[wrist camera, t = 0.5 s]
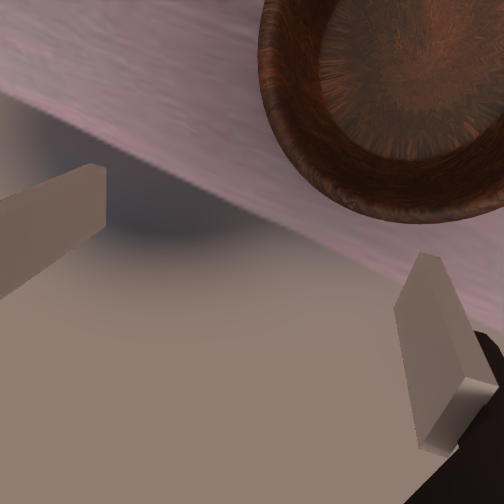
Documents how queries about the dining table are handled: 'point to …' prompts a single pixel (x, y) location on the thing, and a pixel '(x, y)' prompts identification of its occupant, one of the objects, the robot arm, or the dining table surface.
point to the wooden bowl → (389, 102)
